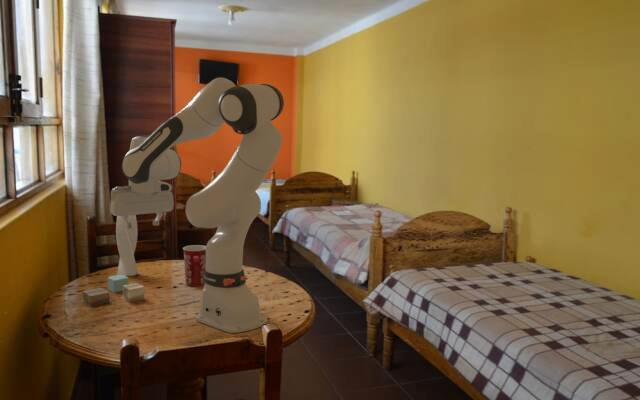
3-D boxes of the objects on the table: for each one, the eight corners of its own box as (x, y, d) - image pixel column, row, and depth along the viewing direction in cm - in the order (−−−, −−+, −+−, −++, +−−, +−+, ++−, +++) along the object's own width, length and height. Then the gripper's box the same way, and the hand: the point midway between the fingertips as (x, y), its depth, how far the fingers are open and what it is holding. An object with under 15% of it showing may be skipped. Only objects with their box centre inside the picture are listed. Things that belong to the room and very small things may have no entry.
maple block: (144, 301, 163) (144, 286, 163) (129, 304, 160) (129, 289, 159) (137, 297, 167) (137, 282, 166) (122, 300, 163) (122, 285, 163)
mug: (183, 280, 186) (183, 244, 184) (208, 279, 189) (208, 244, 187) (182, 291, 174) (182, 253, 172) (208, 290, 176) (209, 253, 174)
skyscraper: (127, 279, 185) (126, 204, 181) (111, 276, 188) (110, 202, 184) (142, 273, 192) (141, 201, 188) (126, 271, 195) (125, 200, 191)
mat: (119, 304, 159) (119, 302, 159) (87, 311, 152) (87, 309, 152) (104, 294, 168) (104, 292, 167) (73, 301, 161) (73, 299, 160)
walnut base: (109, 301, 160) (109, 292, 159) (90, 305, 156) (89, 296, 155) (102, 296, 164) (101, 287, 163) (83, 300, 160) (82, 291, 159)
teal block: (128, 291, 172) (128, 277, 171) (114, 294, 168) (113, 280, 168) (122, 288, 175) (122, 274, 175) (108, 291, 172) (107, 276, 171)
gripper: (114, 188, 153) (114, 232, 156) (176, 185, 167) (175, 225, 170) (106, 185, 157) (106, 227, 160) (167, 182, 171) (166, 221, 174)
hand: (142, 226), depth 165 cm, fingers open, 8 cm apart
